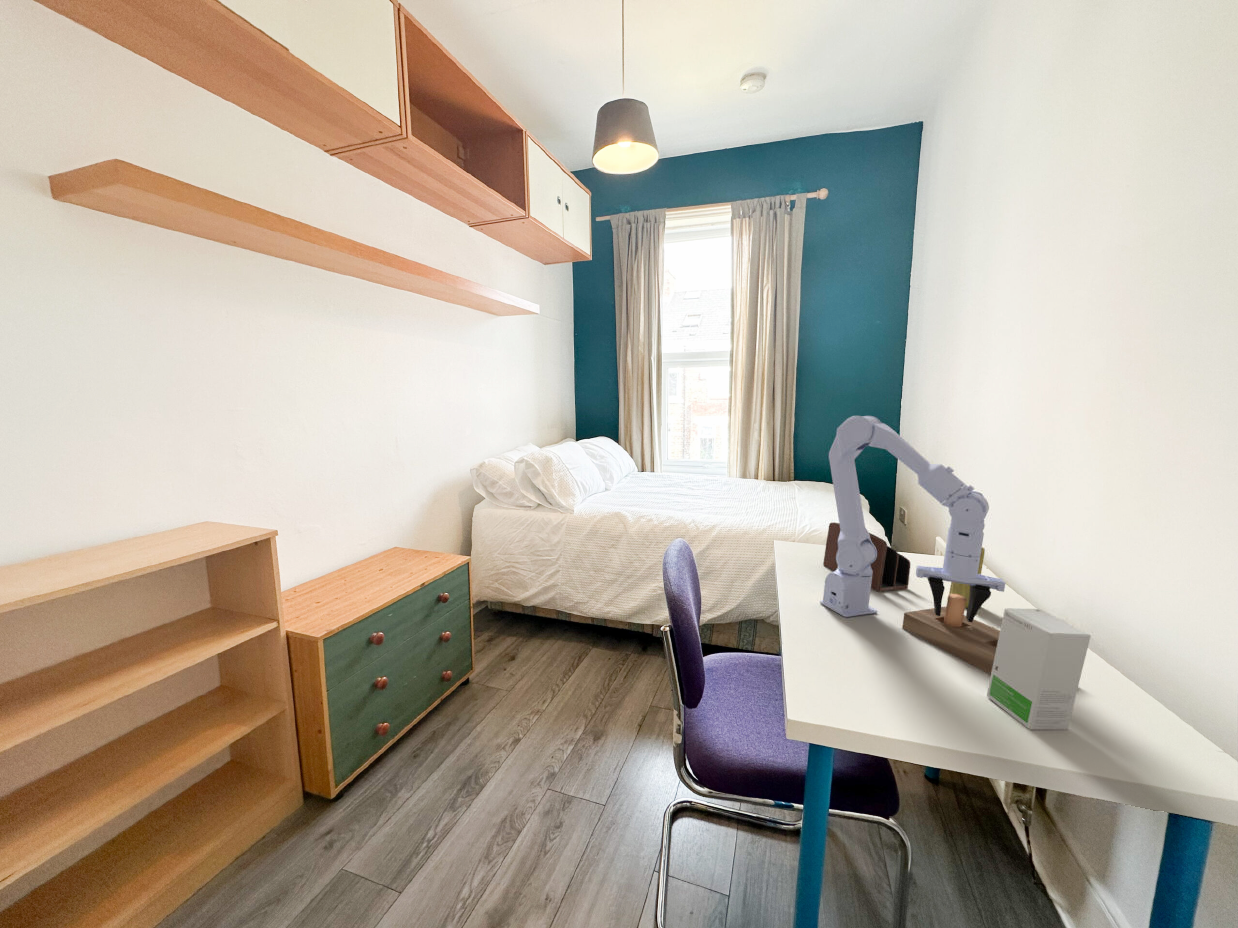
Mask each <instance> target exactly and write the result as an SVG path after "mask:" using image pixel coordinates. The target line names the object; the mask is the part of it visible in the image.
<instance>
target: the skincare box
mask: <svg viewBox="0 0 1238 928" xmlns="http://www.w3.org/2000/svg"><path fill="white" fill-rule="evenodd" d="M999 630H1000V634H999V639H998V644H997V648H996V653H995V658H994V662H993V668H992V672H991V674H990V678H989V683H988V687H987V691H986V697H987V698H988V699H989V700H991V701H993V702H994V703H995V704H996V705H997V706H999V707H1000V708H1001V709H1002V710H1004V711H1005V712H1006V713H1008V714H1009V716H1012V717H1013V718H1014V719H1016V721H1018V722H1019V723H1020V724H1021V725H1023V726H1024V727H1025V728H1027V729H1029V730H1030V731H1044V730H1045V731H1053V730H1055V731H1056V730H1059V731H1060V730H1066V731H1067V730H1068V729H1069V726H1070V721H1071V717H1072V712H1073V708H1074V705H1075V700H1076V697H1077V693H1078V689H1079V686H1080V685H1079V684H1080V680H1081V676H1082V672H1083V667H1084V664H1085V660H1086V656H1087V651H1088V648H1089V643H1090V640H1091V637H1092V636H1091V634H1090V633H1087V632H1086V631H1083V630H1081V629H1080V628H1078V627H1075V626H1074V625H1071V624H1070V623H1069V622H1068V621H1066V620H1064V619H1061V618H1059V617H1056V616H1054V615H1052V614H1050V613H1048V612H1046V611H1045V610H1044V609H1043V610H1042V609H1041V608H1006V607H1005V608H1004V611H1003V616H1002V621H1001V626H1000V629H999Z"/></svg>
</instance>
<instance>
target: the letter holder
mask: <svg viewBox="0 0 1238 928" xmlns="http://www.w3.org/2000/svg"><path fill="white" fill-rule="evenodd" d="M839 534H840V524H839V522H830V523H829V524H828V531H827V536H826V540H825V541H826V543H825V549H824V555H823V567H826V568H827V569H830V570H832V571H833V572H834V571H836V570H837V568H838V564H837V562H836V554H837V551H838V538H839ZM869 534H870V539H871V541H872V543H873V544H874V546H875V547H876V550H877V557H876V560H875V561H874V562H873V563H871V565H870V566H871V569H872V571H873V574H872V582H871V589H872V590H873V591H876V592H878V593H882V592H883V593H884V592H890V591H891V592H892V591H901V590H902V591H903V590H907V589H908V587H909V581H910V573H911V562H910V560H909V559H908V558H907V557H905V556H904V555H902V554H900V553H899V552H898V551H897V550H895V549H894V548H892V547H891V546H889V545H888V543H887V541H885V540H884V539H883V538H881V537H878V536H877V535H875V534H873V533H870V532H869Z"/></svg>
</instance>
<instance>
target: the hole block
mask: <svg viewBox="0 0 1238 928" xmlns="http://www.w3.org/2000/svg"><path fill="white" fill-rule="evenodd" d="M946 607H947V606H941V614H940V616H937V615H936V614H935V612H934V607H932V608H927V609H919V610H913V611H907V612H904V613H903V619H902V620H903V621H902V627H901V628H902V629H903V630H905V631H906V632H909V633H910V634H913V635H914V636H916V637H918V638H920V639H922V640H924V641H926V642H928V643H930V644H932V645H934V646H935V647H936V648H937V647H938V648H940V649H941V650H943V651H945V652H947V653H948V654H951V655H953V656H954V657H956V658H959V659H960V660H962V661H964V662H966V663H968V664H970V665H971V666H973V667H976V668H977V669H979V670H981V671H983V672H985V673H986V674H988V675H991V672H992V668H993V662H994V658H995V653H996V648H997V644H998V639H999V634H1000V629H997V628H995V627H993V626H991V625H989V624H986V623H983V622H981V621H979V620H977V619H975V618H974V619H973V622H968V620H967V618H966V614H964V616H963V621H962V626H961V628H956V629H955V628H953V627H951V626H949V625H947V624H945V623H944V617H945V612H946Z"/></svg>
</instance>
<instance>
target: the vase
mask: <svg viewBox="0 0 1238 928" xmlns="http://www.w3.org/2000/svg"><path fill="white" fill-rule="evenodd" d="M985 552H986V551H985V548H984V547H983V546H982V549H981V555H980V562H979V568H978V574H980V575H982V571H983V570H982V569H983V565H984V559H985ZM949 594H958V595H961V596H963V597H965V598H966V599H967V601H966V606H965V609H967V608H968V603H969V595H970V585H967V584H961V583H955V582H951V583H950V588H949V591H948V595H949Z"/></svg>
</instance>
